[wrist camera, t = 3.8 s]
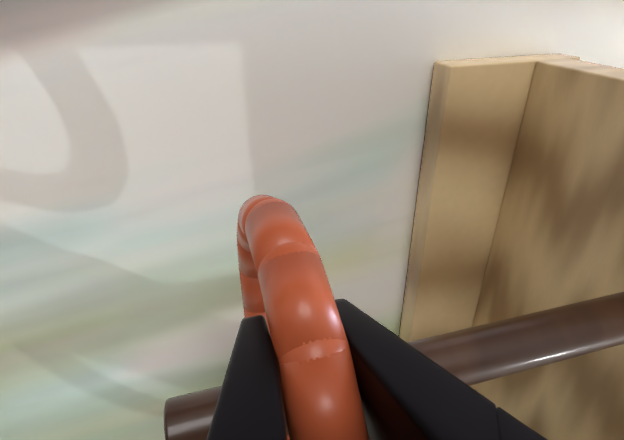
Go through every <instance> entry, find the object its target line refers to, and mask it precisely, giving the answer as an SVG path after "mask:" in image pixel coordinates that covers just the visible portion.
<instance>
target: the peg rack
mask: <svg viewBox="0 0 624 440" xmlns="http://www.w3.org/2000/svg"><path fill="white" fill-rule="evenodd" d="M579 60H580V58H579V57H575V56H569V55H564V54H543V55H527V56H511V57H495V58H479V59H463V60H447V61H436V62H435V63H434V70H433V78H432V85H431V93H430V101H429V109H428V117H427V124H426V132H425V140H424V148H423V155H422V163H421V171H420V179H419V186H418V194H417V202H416V210H415V218H414V225H413V233H412V241H411V249H410V256H409V264H408V272H407V280H406V287H405V295H404V303H403V311H402V319H401V326H400V334H399V337H400V338H401V339H403V340H404V341H406V342H407V343H408V344H410V345H411V346H413V347H414V348H416V349H417V350H418V351H420V352H421V353H423V354H424V355H426V356H427V357H428V358H430V359H431V360H433V361H434V362H436V363H437V364H439V365H440V366H441V367H443V368H444V369H446V370H447V371H449V372H450V373H451V374H453V375H454V376H456V377H457V378H459V379H460V380H461V381H463V382H464V383H466V384H467V385H469V386H470V387H472V388H473V389H474V390H476V391H477V392H479V393H480V394H482V395H483V396H484V397H486V398H487V399H489V400H490V401H492V402H493V403H494V404H495V405H496V408H497V407H500V408H502V409H503V410H505V411H506V412H508V413H509V414H511V415H512V416H513V417H515V418H516V419H518V420H519V421H521V422H522V423H524V424H525V425H527V426H528V427H530V428H531V429H533V430H534V431H536V432H537V433H539V434H540V435H542V436H543V437H545V438H546V439H548V440H624V69H621V68H616V67H610V66H605V65H600V64H595V63H590V62H585V61H579ZM221 388H222V386H219V387H215V388H210V389H206V390H202V391H198V392H193V393H189V394H185V395H180V396H176V397H172V398H169V399H167V400H166V403H165V408H164V431H165V440H206V439H207V435H208V432H209V429H210V425H211V422H212V419H213V415H214V412H215V408H216V405H217V402H218V398H219V395H220V392H221ZM283 404H284V403H283ZM284 413H285V409H284ZM285 423H286V433H287V435H289V432H288V427H287V421H286V415H285Z"/></svg>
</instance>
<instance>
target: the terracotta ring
mask: <svg viewBox="0 0 624 440" xmlns="http://www.w3.org/2000/svg"><path fill="white" fill-rule="evenodd" d="M237 246H238V262H239V272H240V281H241V290H242V299H243V308H244V315H245V318H247V317H252V316H257V315H263V316H264V317H265V320H266V323H267V326H268V329H269V333H270V336H271V340H272V344H273V347H274V350H275V352H276V355H277V358H278V362H279V367H280V374H281V384H282V394H283V403H284V409H285V415H286V421H287V427H288V432H289V435H287V440H370V439H369V435H368V430H367V425H366V421H365V416H364V411H363V407H362V402H361V397H360V393H359V388H358V383H357V379H356V374H355V369H354V365H353V360H352V355H351V351H350V347H349V343H348V340H347V337H346V334H345V331H344V328H343V324H342V321H341V318H340V315H339V312H338V309H337V306H336V303H335V300H334V297H333V294H332V291H331V288H330V285H329V281H328V278H327V275H326V272H325V269H324V266H323V263H322V260H321V258H320V255H319V253H318V251H317V249H316V248H315V246H314V244H313V242H312V240H311V238H310V236H309V234H308V233H307V231H306V229H305V227H304V225H303V223H302V221H301V219H300V218H299V216H298V214H297V212H296V211H295V209H294V208H293V207H292V206H291V205H290V204H288V203H287V202H285V201H282V200H280V199H277V198H274V197H271V196H268V195H257V196H254V197H251V198H250V199H248V200H247V201H246V202H245V203H244V204H243V205H242V207H241V209H240V211H239V216H238V226H237Z"/></svg>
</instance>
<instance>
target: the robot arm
mask: <svg viewBox="0 0 624 440" xmlns="http://www.w3.org/2000/svg"><path fill="white" fill-rule="evenodd" d="M335 303H336V306H337V309H338V312H339V315H340V318H341V321H342V324H343V328H344V331H345V334H346V337H347V340H348V343H349V347H350V351H351V355H352V360H353V365H354V369H355V374H356V379H357V383H358V388H359V393H360V397H361V402H362V407H363V411H364V416H365V421H366V425H367V430H368V435H369V439H370V440H548V439H546V438H545V437H543V436H542V435H540V434H539V433H537V432H536V431H534V430H533V429H531V428H530V427H528V426H527V425H525V424H524V423H522V422H521V421H519V420H518V419H516V418H515V417H513V416H512V415H511V414H509V413H508V412H506V411H505V410H503V409H502V408H500V407H497V408H496V405H495V404H494V403H493V402H492V401H490V400H489V399H487V398H486V397H484V396H483V395H482V394H480V393H479V392H477V391H476V390H474V389H473V388H472V387H470V386H469V385H467V384H466V383H464V382H463V381H461V380H460V379H459V378H457V377H456V376H454V375H453V374H451V373H450V372H449V371H447V370H446V369H444V368H443V367H441V366H440V365H439V364H437V363H436V362H434V361H433V360H431V359H430V358H428V357H427V356H426V355H424V354H423V353H421V352H420V351H418V350H417V349H416V348H414V347H413V346H411V345H410V344H408V343H407V342H406V341H404V340H403V339H401V338H400V337H398V336H397V335H396V334H394V333H393V332H391V331H390V330H388V329H387V328H385V327H384V326H383V325H381V324H380V323H378V322H377V321H375V320H374V319H373V318H371V317H370V316H368V315H367V314H365V313H364V312H363V311H361V310H360V309H358V308H357V307H355V306H354V305H353V304H351V303H350V302H348V301H347V300H345V299H338V300H335ZM206 440H287V433H286V423H285V413H284V404H283V394H282V384H281V374H280V367H279V362H278V358H277V355H276V352H275V350H274V347H273V344H272V340H271V336H270V333H269V329H268V326H267V323H266V320H265V317H264V316H263V315H257V316H252V317H247V318H244V319H243V320H242V321H241V324H240V328H239V331H238V334H237V338H236V341H235V344H234V348H233V351H232V355H231V358H230V361H229V365H228V368H227V371H226V375H225V378H224V382H223V385H222V388H221V392H220V395H219V398H218V402H217V405H216V408H215V412H214V415H213V419H212V422H211V425H210V429H209V432H208V435H207V439H206Z"/></svg>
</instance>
